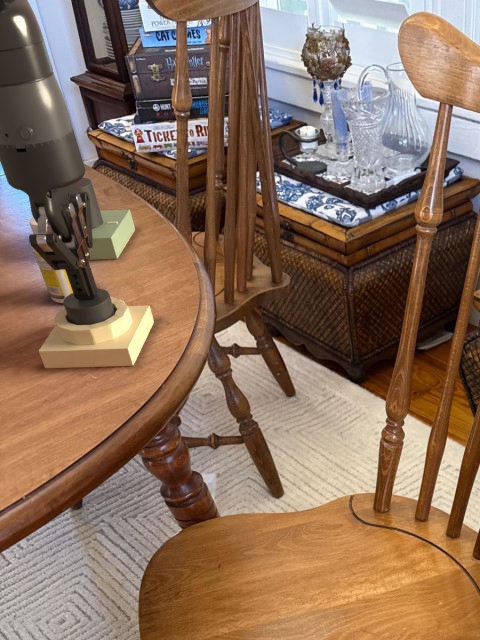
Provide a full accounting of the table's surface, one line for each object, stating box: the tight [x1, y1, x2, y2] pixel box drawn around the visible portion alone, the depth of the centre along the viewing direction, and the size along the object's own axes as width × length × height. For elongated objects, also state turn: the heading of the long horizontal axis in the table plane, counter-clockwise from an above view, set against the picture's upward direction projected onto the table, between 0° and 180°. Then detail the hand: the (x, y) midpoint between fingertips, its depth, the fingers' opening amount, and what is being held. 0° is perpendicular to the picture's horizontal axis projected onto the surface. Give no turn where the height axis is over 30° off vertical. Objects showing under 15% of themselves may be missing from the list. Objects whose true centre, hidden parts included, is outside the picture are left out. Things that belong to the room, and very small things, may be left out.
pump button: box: [62, 287, 115, 325], centre depth 88 cm, size 5×5×2 cm
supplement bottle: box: [28, 216, 73, 304], centre depth 97 cm, size 5×5×10 cm
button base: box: [38, 296, 155, 369], centre depth 90 cm, size 10×10×4 cm
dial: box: [75, 177, 103, 229], centre depth 108 cm, size 5×5×6 cm
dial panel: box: [88, 209, 136, 261], centre depth 111 cm, size 10×10×3 cm
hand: (87, 296), depth 87 cm, fingers closed
